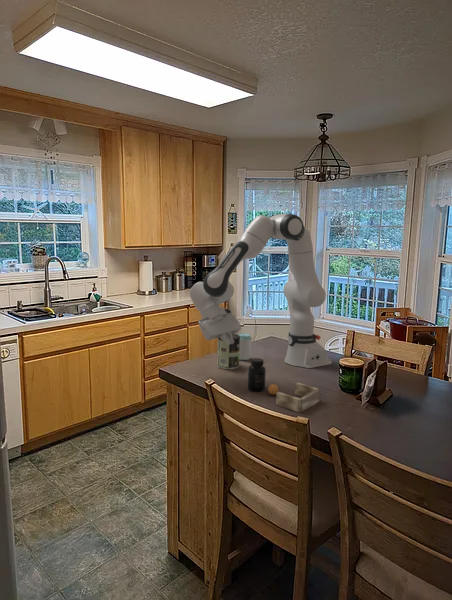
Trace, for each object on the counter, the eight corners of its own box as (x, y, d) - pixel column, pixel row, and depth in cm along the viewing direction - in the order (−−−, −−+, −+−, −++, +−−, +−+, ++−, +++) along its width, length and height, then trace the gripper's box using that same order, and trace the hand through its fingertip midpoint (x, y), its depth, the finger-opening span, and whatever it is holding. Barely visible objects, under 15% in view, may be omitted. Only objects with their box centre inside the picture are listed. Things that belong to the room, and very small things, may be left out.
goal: (275, 404, 155) (276, 392, 155) (296, 393, 166) (297, 382, 166) (300, 412, 149) (301, 400, 148) (320, 400, 160) (321, 389, 159)
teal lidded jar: (252, 360, 205) (253, 336, 203) (238, 361, 203) (239, 336, 201) (248, 356, 212) (249, 332, 210) (234, 356, 210) (235, 333, 208)
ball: (275, 391, 167) (275, 382, 166) (280, 395, 163) (280, 385, 163) (266, 393, 166) (266, 383, 165) (270, 396, 162) (271, 386, 161)
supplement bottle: (266, 387, 172) (268, 358, 170) (262, 393, 165) (263, 363, 163) (250, 384, 174) (251, 356, 172) (245, 390, 168) (246, 361, 165)
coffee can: (239, 362, 202) (240, 333, 199) (239, 370, 191) (240, 339, 189) (217, 361, 202) (217, 332, 199) (216, 369, 192) (217, 338, 189)
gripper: (200, 315, 170) (218, 344, 166) (233, 309, 186) (250, 335, 181) (192, 324, 174) (209, 353, 169) (225, 317, 189) (241, 343, 185)
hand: (231, 343), depth 175 cm, fingers closed
